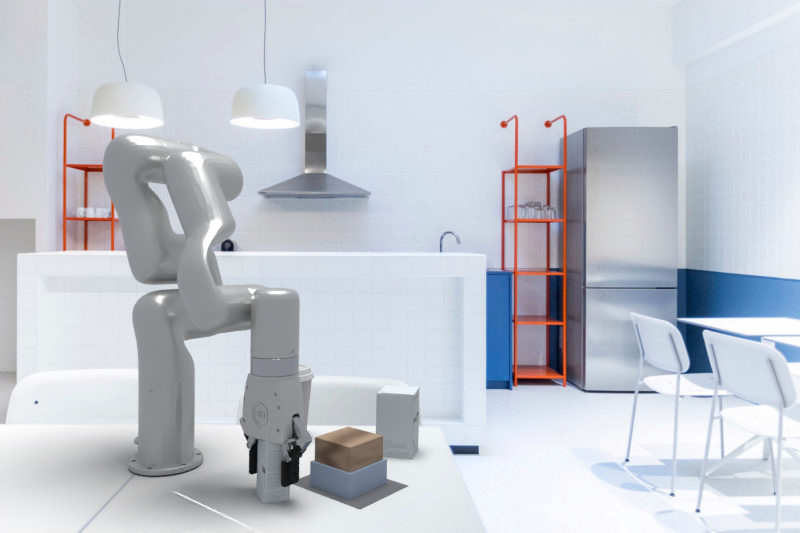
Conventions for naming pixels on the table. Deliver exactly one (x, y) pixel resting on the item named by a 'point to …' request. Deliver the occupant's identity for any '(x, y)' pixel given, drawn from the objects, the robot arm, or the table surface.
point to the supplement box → (398, 420)
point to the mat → (360, 500)
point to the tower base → (348, 478)
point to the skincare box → (270, 472)
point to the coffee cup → (305, 388)
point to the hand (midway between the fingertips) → (273, 477)
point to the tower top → (348, 449)
